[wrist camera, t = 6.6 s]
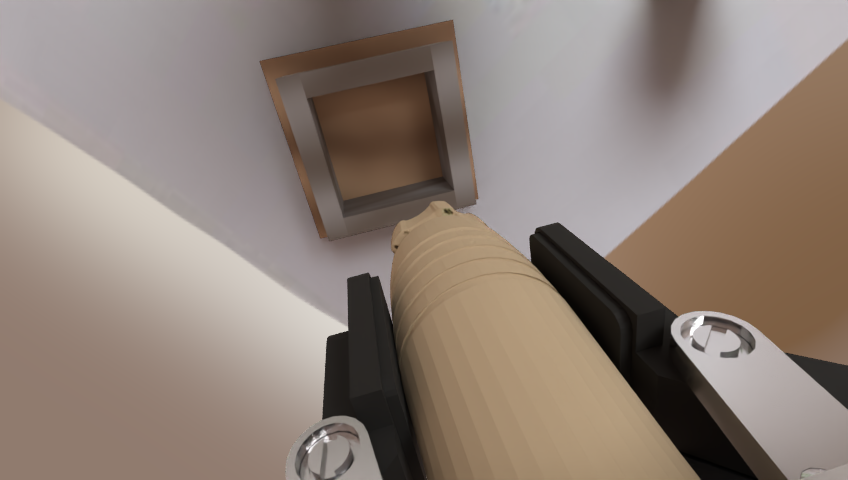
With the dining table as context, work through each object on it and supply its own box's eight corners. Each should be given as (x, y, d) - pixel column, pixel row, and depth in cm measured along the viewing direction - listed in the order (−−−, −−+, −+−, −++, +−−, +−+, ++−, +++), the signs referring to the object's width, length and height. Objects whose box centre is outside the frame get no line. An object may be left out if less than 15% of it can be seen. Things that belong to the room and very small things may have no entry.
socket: (262, 60, 29) (247, 61, 24) (449, 21, 30) (468, 14, 26) (321, 233, 35) (317, 259, 31) (474, 194, 36) (493, 214, 32)
